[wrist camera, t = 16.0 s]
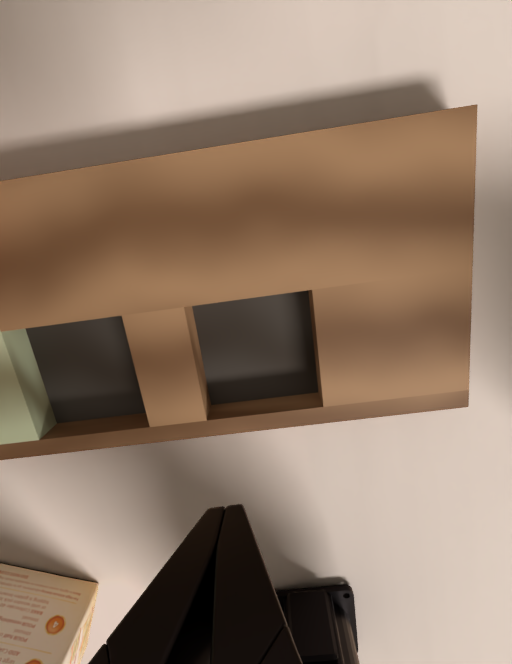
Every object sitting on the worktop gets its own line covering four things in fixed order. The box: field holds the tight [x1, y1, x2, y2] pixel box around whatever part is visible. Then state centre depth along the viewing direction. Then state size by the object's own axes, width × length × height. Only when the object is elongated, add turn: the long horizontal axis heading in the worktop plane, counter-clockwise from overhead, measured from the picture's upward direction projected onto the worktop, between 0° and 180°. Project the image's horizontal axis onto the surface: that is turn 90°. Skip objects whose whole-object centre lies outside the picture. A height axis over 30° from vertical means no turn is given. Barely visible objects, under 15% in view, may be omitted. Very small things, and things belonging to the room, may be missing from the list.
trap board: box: [0, 105, 477, 460], centre depth 17 cm, size 14×31×5 cm, turn 98°
